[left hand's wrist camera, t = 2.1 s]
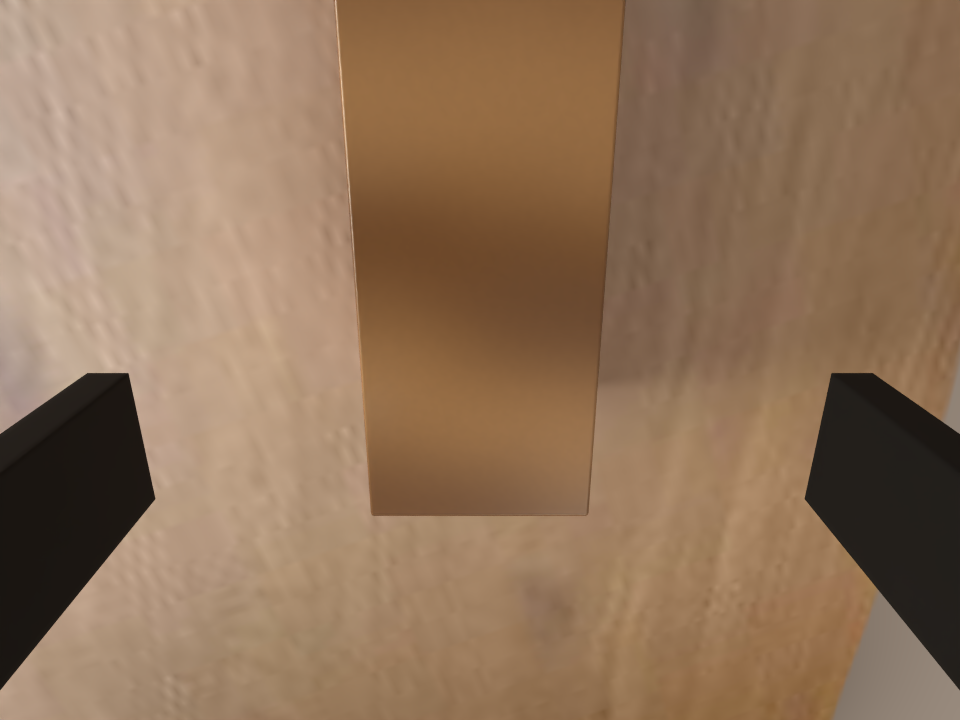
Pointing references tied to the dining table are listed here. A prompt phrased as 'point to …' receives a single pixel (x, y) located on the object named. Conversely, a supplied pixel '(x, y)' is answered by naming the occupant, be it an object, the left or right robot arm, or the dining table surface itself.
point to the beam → (479, 245)
